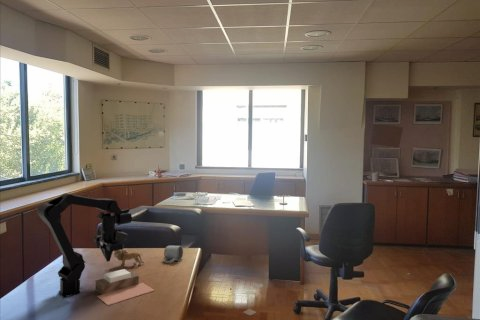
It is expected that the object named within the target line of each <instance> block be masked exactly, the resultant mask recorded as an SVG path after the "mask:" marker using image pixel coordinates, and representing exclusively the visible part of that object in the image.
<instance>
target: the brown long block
mask: <svg viewBox="0 0 480 320" xmlns="http://www.w3.org/2000/svg"><path fill="white" fill-rule="evenodd" d="M129 272H130V273H131V277H130V278H127V279H123V280H120V281H116V282H112V283H110V282H108V281H107V280H105V279H104V277H103V278H99V279H96V280H95V282H94V283H95V292H98V293H99V294H100V295H103V294H106V293H110V292H113V291H116V290H120V289H123V288H127V287H130V286H133V285H137V284H140V283H139V281H140V280H139V279H140V278H139V277H140V276H139V275H138V274H137V273H135V272H134V271H132V270H130V271H129Z"/></svg>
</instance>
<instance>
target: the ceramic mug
mask: <svg viewBox="0 0 480 320" xmlns="http://www.w3.org/2000/svg"><path fill="white" fill-rule="evenodd" d="M163 255H164V257H163V261H164V263H165V264H172V263H174V261H176V262H177V261H178V262H180V261H181V260H183V259H182V258H183V255H184V249H183V246H181V245H167V246H166V247H165V249H164V251H163Z"/></svg>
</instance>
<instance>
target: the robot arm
mask: <svg viewBox="0 0 480 320" xmlns="http://www.w3.org/2000/svg"><path fill="white" fill-rule="evenodd" d="M70 205H75V206H76V205H77V206H82V207H88V208H89V207H90V208H95V209H97V210H100V211H103V212H100V213H99V214H98V215H96V218H97V219H101V228H99V232H100V233H101V234H98V235H95V236H94V237H93V241H92V242H93V243H94V244H97V243H98V242H99V243H100V244H98V247H99V249H100V251H101V253H102V256H103V257H104V259H105V261H106V263H107V262H110V260H111V258H112V255H113V253H114V251H116V250H121V249H122V250H124V248H125V245H124V243H123V242H126V241H127V238H128V236H129V234H128V233H126V232H124V231H122V229H121V228H116V225H117V226H122V225H127V224H131V222H132V221H133V216H132V213H131V212H130V209H129V208H123V209H120V207H119V206H118V202H117V200H115V199H113V198H107V197H106V198H103V197H102V198H100V197H99V198H92V197H86V196H82V195H76V194H75V195H74V194H72V193H68V192H67V193H63V194H61V195H60V196H57V197H55V198H53V199H51V200H50V201H47V202H44V203H41V204H40V205H39V206H38V208H37V209H36V213H37V215H38V216H39V218H40V219H41V220H42V222H44V224H46V225H47V227H48V228H49V230H50V232H51V234H52V236H53V238H54V240H55V243H56V245H57V247H58V249H59V251H60V253H61V255H62V256H61V257H62V267H61V268H60V269H59V270H58V271H57V274H58V276H59V278H60V279H59V290H58V294H59V295H61V296H62V298H66V297H70V296H73V295H78V294H80V293H81V291H80V290H81V277H82V274H83V271H84V270H85V268H86V265H85V264H86V261H85V260H84V257H83V254H82V253H79V252H78V251H75V250H74V247H73V246H72V243H71V242H70V240H69V238H68V235H67V233H66V230H65V228H64V227H63V225H62V213H63V212H64V211H66V209H67V208H68V207H69V206H70ZM104 212H107V213H104ZM119 240H121V241H123V242H121V241H119Z"/></svg>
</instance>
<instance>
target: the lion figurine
mask: <svg viewBox="0 0 480 320" xmlns="http://www.w3.org/2000/svg"><path fill="white" fill-rule="evenodd" d="M141 256H142V255H141V254H140V253H139V252H138V251H132V252H128V251H127V250H124V249H121V250H116V251H113V257H114V258H116V259H117V260H118V261H121V264H120V265H121V267H122V268H123V267H125V266H126V265H125V263H126V261H130V260H133V259H134V261H135V262H133V265H136V264H137V263H138V264H137V266H138V267H140V266H141V265H142V264H145V262H144V261H143V260H142V257H141Z"/></svg>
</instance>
